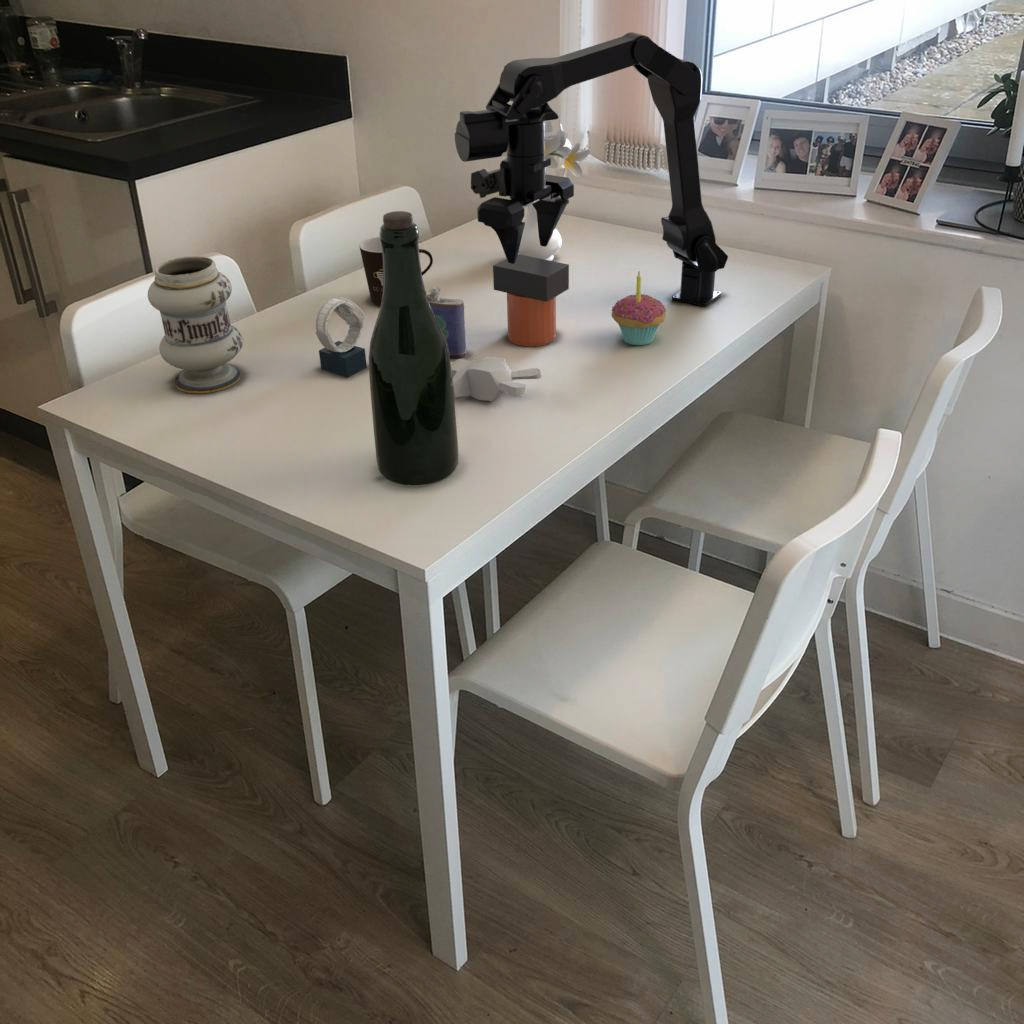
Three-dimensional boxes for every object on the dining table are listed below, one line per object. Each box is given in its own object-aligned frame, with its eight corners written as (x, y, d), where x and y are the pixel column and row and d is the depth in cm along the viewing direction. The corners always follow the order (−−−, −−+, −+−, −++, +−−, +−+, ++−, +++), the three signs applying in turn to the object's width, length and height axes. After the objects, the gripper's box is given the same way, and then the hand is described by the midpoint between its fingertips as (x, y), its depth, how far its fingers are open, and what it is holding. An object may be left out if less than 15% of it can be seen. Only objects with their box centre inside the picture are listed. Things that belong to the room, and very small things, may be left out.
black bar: (516, 277, 174) (515, 253, 172) (568, 289, 169) (569, 264, 167) (493, 289, 169) (492, 265, 167) (546, 301, 164) (546, 276, 162)
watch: (375, 362, 166) (368, 295, 160) (339, 381, 161) (330, 312, 155) (348, 354, 169) (341, 288, 163) (312, 373, 164) (303, 304, 158)
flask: (469, 353, 168) (465, 288, 163) (461, 360, 166) (457, 294, 160) (416, 346, 171) (410, 281, 166) (407, 353, 169) (402, 288, 163)
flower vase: (566, 277, 196) (567, 136, 182) (482, 261, 204) (477, 125, 191) (600, 256, 205) (603, 120, 192) (518, 241, 213) (516, 110, 200)
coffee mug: (355, 305, 187) (350, 249, 181) (379, 288, 193) (374, 234, 188) (415, 313, 183) (411, 256, 177) (437, 296, 190) (434, 240, 184)
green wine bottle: (396, 444, 144) (372, 197, 126) (470, 453, 141) (456, 203, 123) (364, 483, 135) (335, 224, 118) (443, 493, 133) (424, 231, 115)
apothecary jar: (161, 371, 165) (136, 258, 156) (239, 357, 169) (220, 245, 159) (173, 403, 156) (147, 284, 146) (255, 387, 160) (236, 270, 150)
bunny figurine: (453, 348, 160) (544, 353, 154) (459, 380, 163) (548, 386, 156) (422, 373, 153) (516, 379, 146) (428, 405, 156) (520, 413, 149)
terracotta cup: (525, 324, 178) (524, 277, 174) (564, 333, 174) (564, 286, 170) (498, 340, 172) (497, 292, 168) (538, 350, 169) (538, 302, 164)
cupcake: (661, 351, 167) (666, 277, 161) (607, 348, 169) (609, 275, 162) (666, 330, 174) (670, 258, 168) (614, 327, 176) (616, 256, 169)
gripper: (515, 133, 170) (517, 230, 179) (445, 160, 157) (451, 263, 166) (575, 141, 165) (575, 240, 173) (508, 170, 152) (511, 276, 160)
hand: (527, 254), depth 168 cm, fingers open, 9 cm apart
